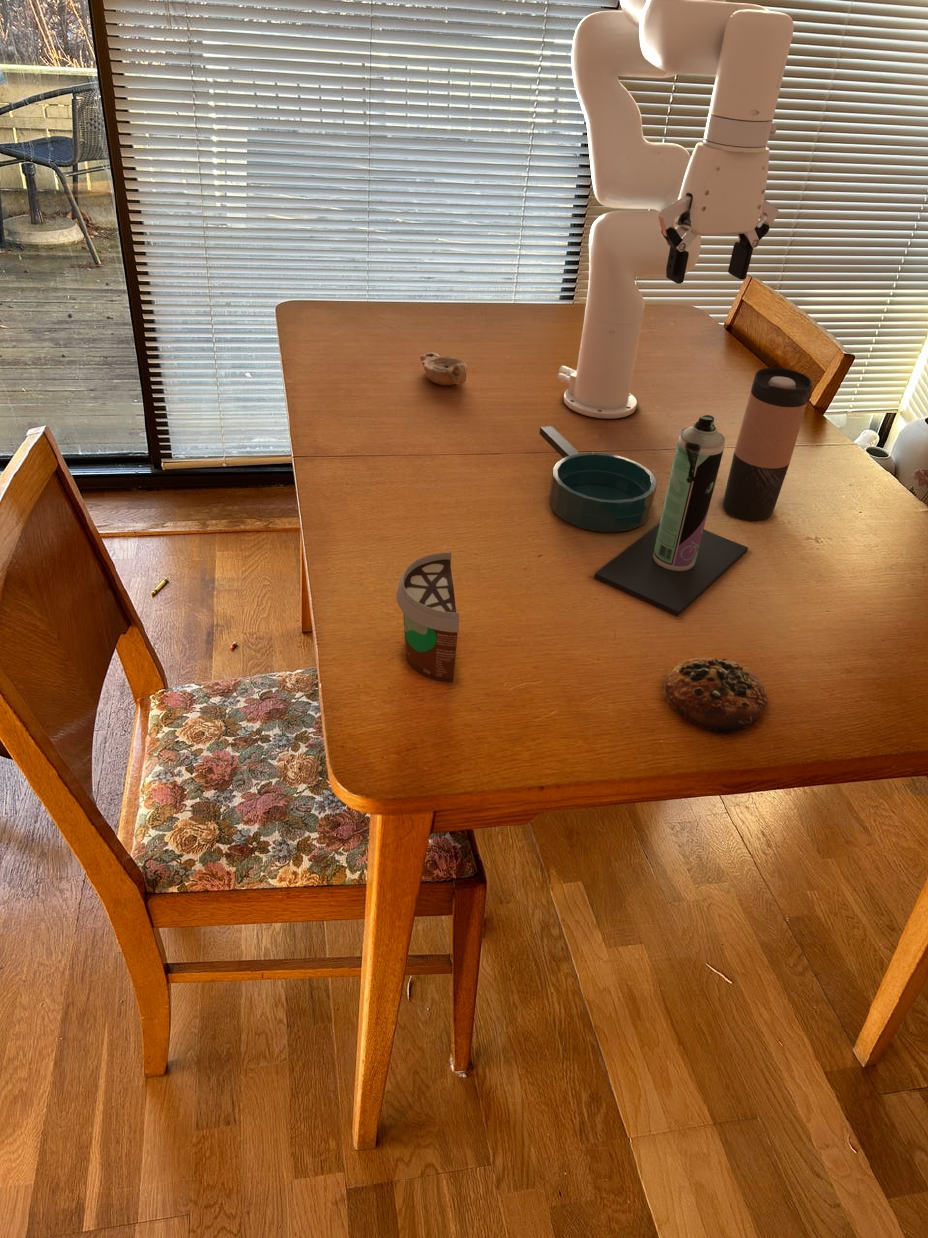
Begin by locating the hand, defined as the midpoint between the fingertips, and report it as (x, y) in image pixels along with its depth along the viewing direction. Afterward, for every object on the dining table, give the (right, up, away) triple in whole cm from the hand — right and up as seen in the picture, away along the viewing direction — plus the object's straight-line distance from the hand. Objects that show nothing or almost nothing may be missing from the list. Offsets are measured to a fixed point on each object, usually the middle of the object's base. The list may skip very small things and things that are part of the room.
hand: (705, 278), depth 122 cm
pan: (-12, -29, +11) cm, 33 cm away
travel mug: (+10, -29, +13) cm, 33 cm away
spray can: (-4, -37, 0) cm, 37 cm away
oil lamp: (-35, -2, +44) cm, 56 cm away
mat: (-4, -37, 0) cm, 38 cm away
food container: (-36, -49, -18) cm, 63 cm away
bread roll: (-5, -53, -21) cm, 58 cm away
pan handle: (-17, -19, +19) cm, 32 cm away
